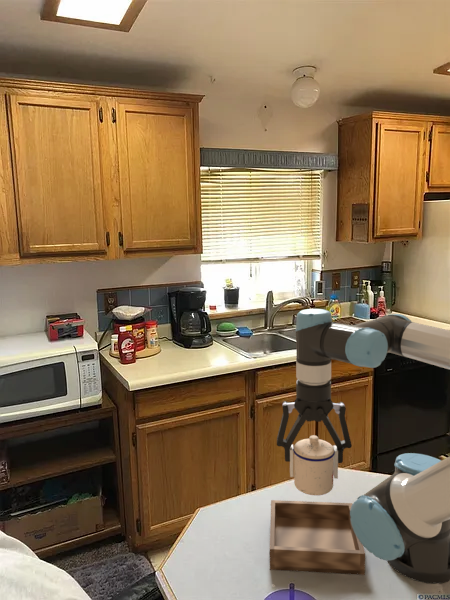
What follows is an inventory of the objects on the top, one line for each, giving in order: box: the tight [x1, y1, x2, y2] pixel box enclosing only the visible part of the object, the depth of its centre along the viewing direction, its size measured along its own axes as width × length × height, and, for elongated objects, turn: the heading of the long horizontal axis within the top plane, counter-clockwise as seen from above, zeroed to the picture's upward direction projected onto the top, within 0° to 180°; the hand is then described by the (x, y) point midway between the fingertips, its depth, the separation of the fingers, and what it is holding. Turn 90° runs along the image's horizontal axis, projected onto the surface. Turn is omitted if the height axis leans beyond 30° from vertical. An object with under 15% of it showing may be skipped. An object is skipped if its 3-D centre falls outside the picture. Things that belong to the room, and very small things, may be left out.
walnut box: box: [269, 499, 366, 576], centre depth 109 cm, size 20×18×5 cm
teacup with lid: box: [293, 434, 335, 496], centre depth 106 cm, size 12×9×12 cm
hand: (313, 474), depth 107 cm, fingers closed on teacup with lid, 9 cm apart
